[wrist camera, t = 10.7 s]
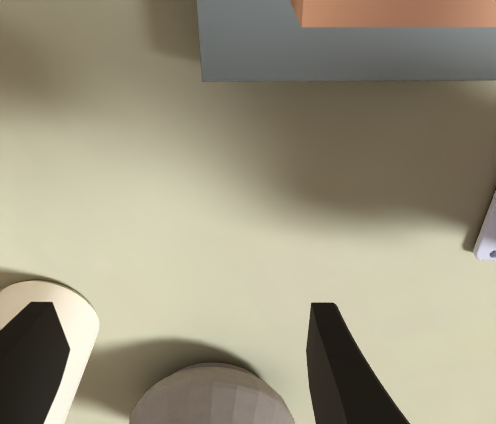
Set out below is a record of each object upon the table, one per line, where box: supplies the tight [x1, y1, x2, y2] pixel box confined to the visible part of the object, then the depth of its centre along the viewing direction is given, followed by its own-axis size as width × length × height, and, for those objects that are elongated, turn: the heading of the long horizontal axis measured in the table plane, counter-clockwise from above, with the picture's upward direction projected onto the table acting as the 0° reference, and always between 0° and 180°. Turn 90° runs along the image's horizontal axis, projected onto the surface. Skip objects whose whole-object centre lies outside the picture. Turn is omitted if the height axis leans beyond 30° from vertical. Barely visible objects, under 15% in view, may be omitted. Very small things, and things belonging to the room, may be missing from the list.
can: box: [0, 280, 99, 424], centre depth 22 cm, size 6×6×12 cm
